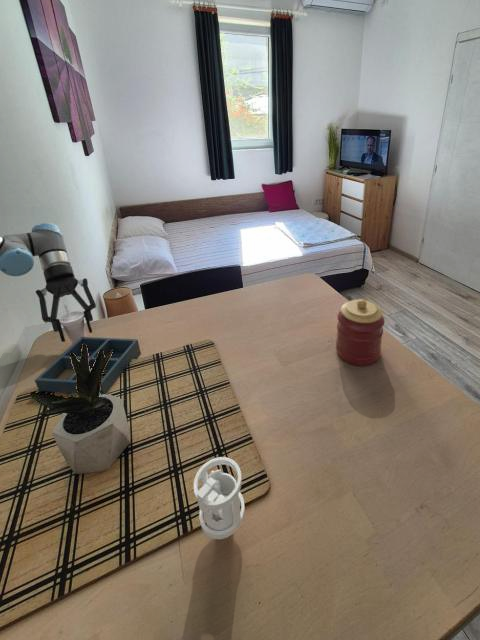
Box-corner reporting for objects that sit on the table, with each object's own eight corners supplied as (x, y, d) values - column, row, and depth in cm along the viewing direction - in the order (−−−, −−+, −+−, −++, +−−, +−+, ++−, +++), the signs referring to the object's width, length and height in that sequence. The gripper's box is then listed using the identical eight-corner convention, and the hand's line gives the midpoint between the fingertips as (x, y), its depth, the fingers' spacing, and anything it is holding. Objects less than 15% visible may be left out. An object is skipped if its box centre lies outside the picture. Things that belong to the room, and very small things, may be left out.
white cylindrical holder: (195, 540, 53) (182, 481, 48) (225, 501, 59) (217, 444, 53) (226, 570, 50) (216, 510, 44) (255, 526, 55) (250, 467, 49)
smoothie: (69, 340, 103) (56, 301, 98) (92, 334, 105) (81, 297, 100) (66, 352, 98) (52, 312, 92) (90, 346, 100) (78, 307, 95)
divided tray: (40, 395, 82) (34, 380, 80) (86, 350, 98) (81, 336, 96) (105, 399, 81) (100, 384, 79) (141, 353, 97) (137, 339, 95)
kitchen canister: (389, 359, 93) (397, 306, 86) (350, 372, 88) (354, 317, 81) (363, 334, 104) (368, 285, 97) (327, 344, 99) (330, 293, 93)
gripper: (92, 265, 111) (112, 327, 105) (22, 281, 100) (40, 351, 95) (91, 255, 105) (112, 321, 99) (15, 272, 94) (35, 346, 89)
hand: (77, 335), depth 97 cm, fingers closed on smoothie, 6 cm apart
